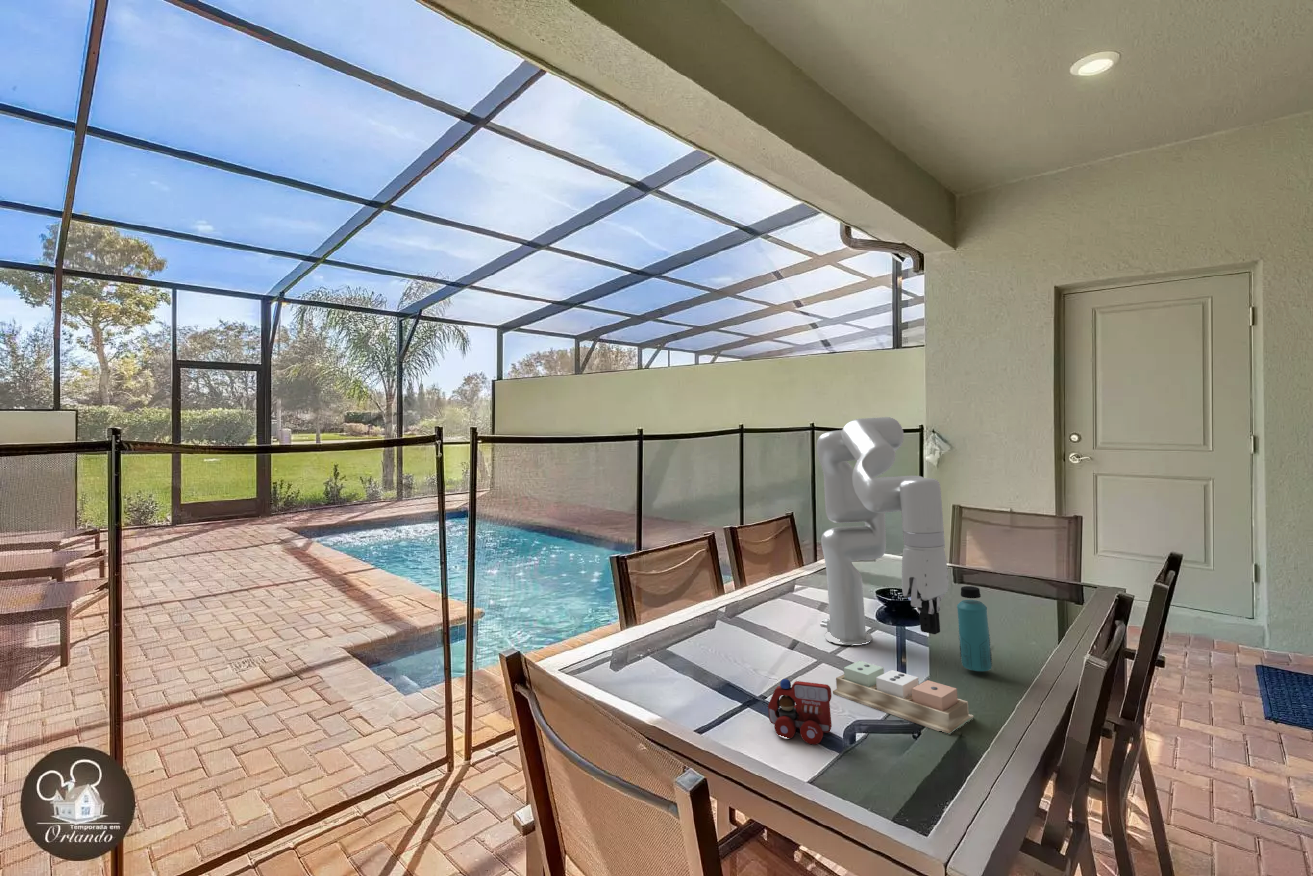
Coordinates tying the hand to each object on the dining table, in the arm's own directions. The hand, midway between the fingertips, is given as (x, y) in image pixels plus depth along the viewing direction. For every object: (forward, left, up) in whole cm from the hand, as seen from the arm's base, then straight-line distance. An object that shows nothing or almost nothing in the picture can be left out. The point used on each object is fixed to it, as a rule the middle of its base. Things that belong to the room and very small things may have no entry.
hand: (930, 632), depth 116 cm
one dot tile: (0, 0, -15) cm, 15 cm away
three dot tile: (-8, 0, -15) cm, 17 cm away
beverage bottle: (-5, +28, -17) cm, 33 cm away
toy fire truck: (-14, -24, -17) cm, 33 cm away
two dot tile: (-16, 0, -15) cm, 22 cm away
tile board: (-8, 0, -17) cm, 19 cm away
